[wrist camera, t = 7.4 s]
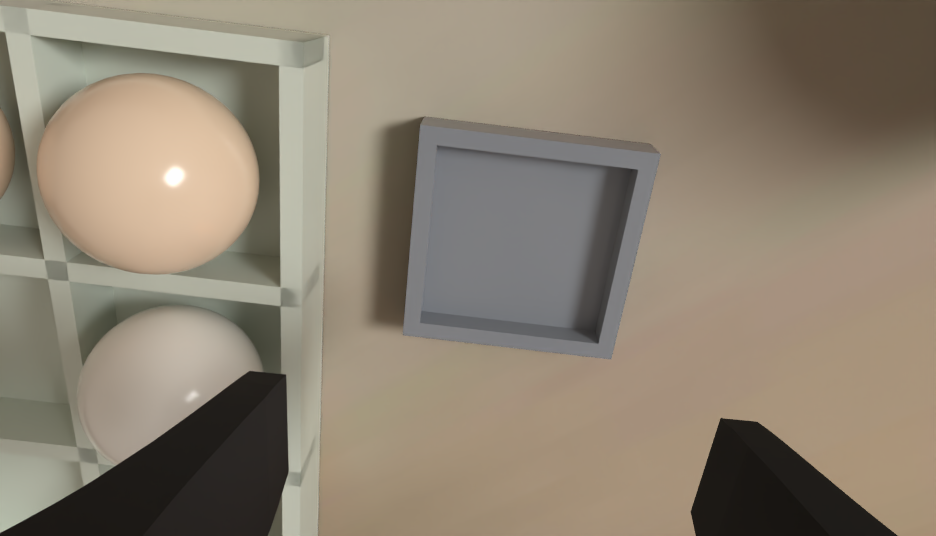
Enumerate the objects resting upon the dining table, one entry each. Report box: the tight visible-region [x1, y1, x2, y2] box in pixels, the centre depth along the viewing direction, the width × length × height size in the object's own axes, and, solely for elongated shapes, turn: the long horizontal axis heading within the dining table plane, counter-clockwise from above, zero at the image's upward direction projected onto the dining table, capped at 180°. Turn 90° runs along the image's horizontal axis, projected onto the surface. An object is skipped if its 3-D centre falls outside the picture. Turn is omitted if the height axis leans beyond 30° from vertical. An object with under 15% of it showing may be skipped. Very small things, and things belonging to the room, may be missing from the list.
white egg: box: [77, 305, 264, 466], centre depth 19 cm, size 5×5×5 cm
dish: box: [403, 117, 661, 359], centre depth 19 cm, size 7×7×1 cm
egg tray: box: [0, 0, 329, 536], centre depth 20 cm, size 20×14×3 cm
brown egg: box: [36, 73, 259, 275], centre depth 16 cm, size 5×5×5 cm
